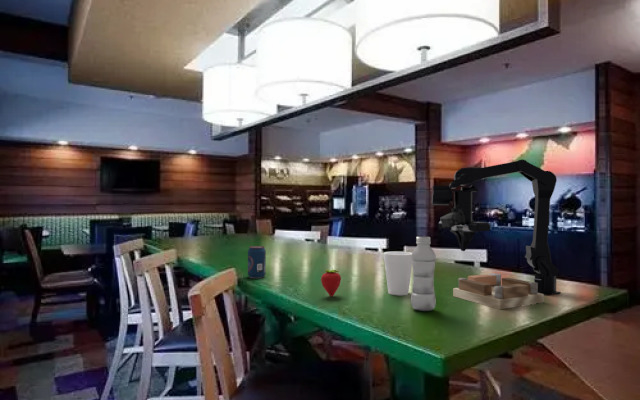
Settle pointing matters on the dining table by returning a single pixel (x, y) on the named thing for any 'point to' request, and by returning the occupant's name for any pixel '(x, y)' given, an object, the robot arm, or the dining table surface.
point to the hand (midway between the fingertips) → (463, 250)
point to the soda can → (256, 262)
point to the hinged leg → (487, 278)
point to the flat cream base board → (499, 293)
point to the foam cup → (398, 272)
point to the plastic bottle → (423, 275)
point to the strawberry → (331, 281)
